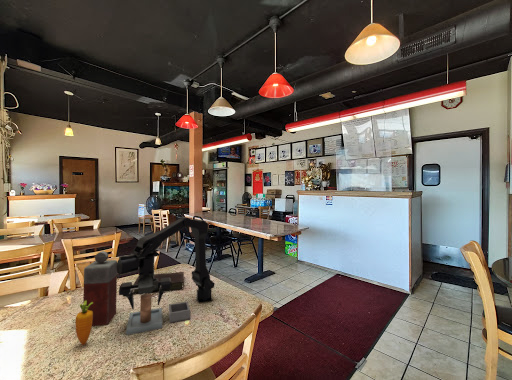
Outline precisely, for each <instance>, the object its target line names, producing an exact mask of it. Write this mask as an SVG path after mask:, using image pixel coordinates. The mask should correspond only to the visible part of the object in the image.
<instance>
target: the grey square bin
mask: <svg viewBox="0 0 512 380" xmlns="http://www.w3.org/2000/svg"><path fill="white" fill-rule="evenodd" d="M168 320H169V324H173V323H180V322H184V321H189V320H191V309H190V305H189V301H182V302H178V303H177V302H176V303H171V304H168Z"/></svg>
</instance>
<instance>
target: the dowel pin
mask: <svg viewBox="0 0 512 380" xmlns="http://www.w3.org/2000/svg"><path fill="white" fill-rule="evenodd" d="M139 310H140V311H139V312H140V322H141V323H147V322H149V321H151V310H152V293H150V294H148V293H147V294H142V295H140V307H139Z"/></svg>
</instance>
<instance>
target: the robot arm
mask: <svg viewBox="0 0 512 380" xmlns="http://www.w3.org/2000/svg"><path fill="white" fill-rule="evenodd" d="M186 227H188V228H190V230H191V231H190V232H191V234H192V236H193V238H194V250H195V251H194V252H195V253H194V254H195V268H194V270H191V280H192V281H193V283H194V284H195V286H197V289H196V300H197V301H198V303H199V304H201V303H207V302H211V301H213V298H212V290H213V289H214V288H215V282H214V281H213V280H211V276H210V272H209V270H208V268H207V258H206V257H207V256H206V255H207V254H206V253H207V251H206V236H207V235H208V232H209V223H208V222H207V221H206V220H203V219H196V218H195V219H192V218H189V217H186V216H181V217H179V218H178V219H176V220H175V221H173V222H172V223H170V224H168V225H166V226H165V227H163V228H162V229H160V230H158V231H157V232H153V233H150V234H146V235H144V236H141V237H140V238H139V239H138V241H137V244H136V245H135V247H134V249H133V250H132V252H131V253H130V254H127V255H125V254H123V255H119V256H118V259H117V275H119V276H121V275H125V274H129V273H134V272H137V270H138V276H139V280H138V284H134V283H133V282H132V281H129V282H127V281H126V282H122V283H121V284H120V286H119V288H118V296H122V297H124V298H127V300H128V302H129V305H130V306H131V309H132V310H134V309H135V301H134V294H133V292H134V290H135V289H138V293H139V294H138V295H140V296H141V295H143V294H153V293H152V290H153V289H155V288H158V286H160V288H159V292H158V296H157V306H160V302H161V300H162V298H163V295H164V293H165V291H166V292H168V291H167V290H168V289H170V288H171V279H170V278H169V277H168V278H161V281H158V278H157V279H154V274H155V257H159V256H161V254H160V253H159V252H157V249H158V248H159V247H160V246H161V245H162V243H164V242H165V241H166V240H167V239H169V238H170V237H172V236H173V235H176V233H178V232H180V231H181V230H183V229H185V228H186ZM133 284H134V285H133Z"/></svg>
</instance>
